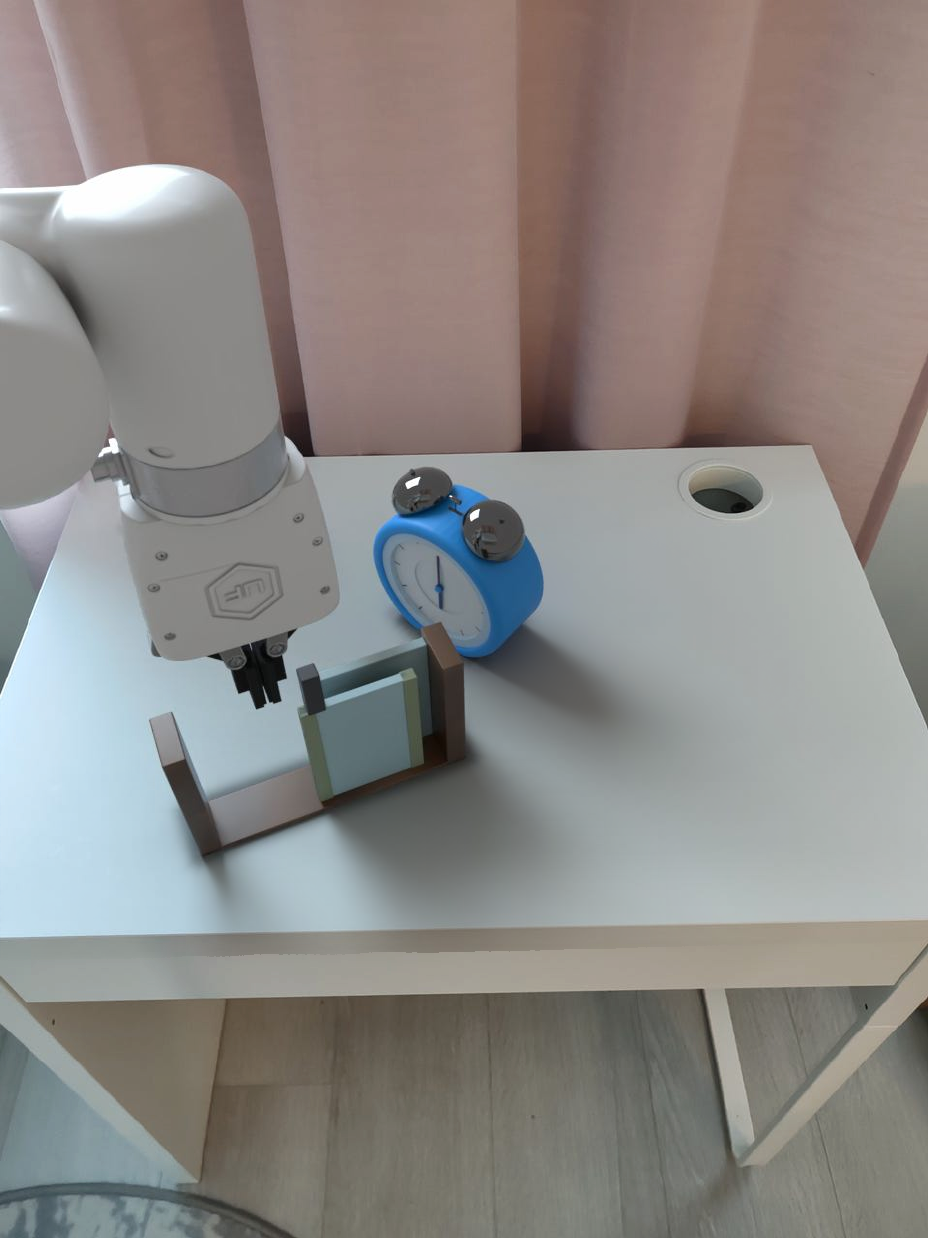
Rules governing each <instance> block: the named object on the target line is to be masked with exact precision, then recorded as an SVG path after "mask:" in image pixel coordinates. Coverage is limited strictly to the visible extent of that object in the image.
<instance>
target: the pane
mask: <svg viewBox="0 0 928 1238" xmlns="http://www.w3.org/2000/svg"><path fill="white" fill-rule="evenodd" d="M295 672H296V677H297V681H298V685H299V690H300V695H301V700H302V702H303V705H299V706H297V707H296V711H297V714H298V715H297V716H298V719H299V724H300V728H301V732H302V735H303V740H304V745H305V748H306V753H307V758H308V762H309V765H310V766H311V770H312V774H313V778H314V782H315V786H316V791H317V794H318V797H319V799H320V802H322V801H325V800H328V799H331V798H333V797H334V796H335V795H338V794H340V793H343V792H346V791H348V790H351V789H354V788H357V787H359V786H362V785H365V784H367V783H370V782H373V781H375V780H378V779H381V778H384V777H386V776H389V775H392V774H394V773H397V772H400V771H402V770H405V769H408V768H410V767H411V768H414V767H416V766H419V765H422V764H424V756H423V744H422V732H421V719H420V707H419V695H418V682H417V676H416V674H415V672H414V670H413V668H410V669H407V670H405V671H402V672H399V674H397V675H394V676H391V677H388V678H385V679H382V680H379V681H376V682H373V683H371V684H368V685H365V686H362V687H359V688H356V689H353V690H350V691H347V692H344V693H342V694H339V695H336V696H333V697H330V698H327V699H324V695H323V690H322V685H321V680H320V676H319V673H318V672H319V671H318V669H317V667H316V664H315V663H314V662H313V663H309V664H306V665H304V666H303V665H302V666H300V667H298V668H296V669H295Z"/></svg>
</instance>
